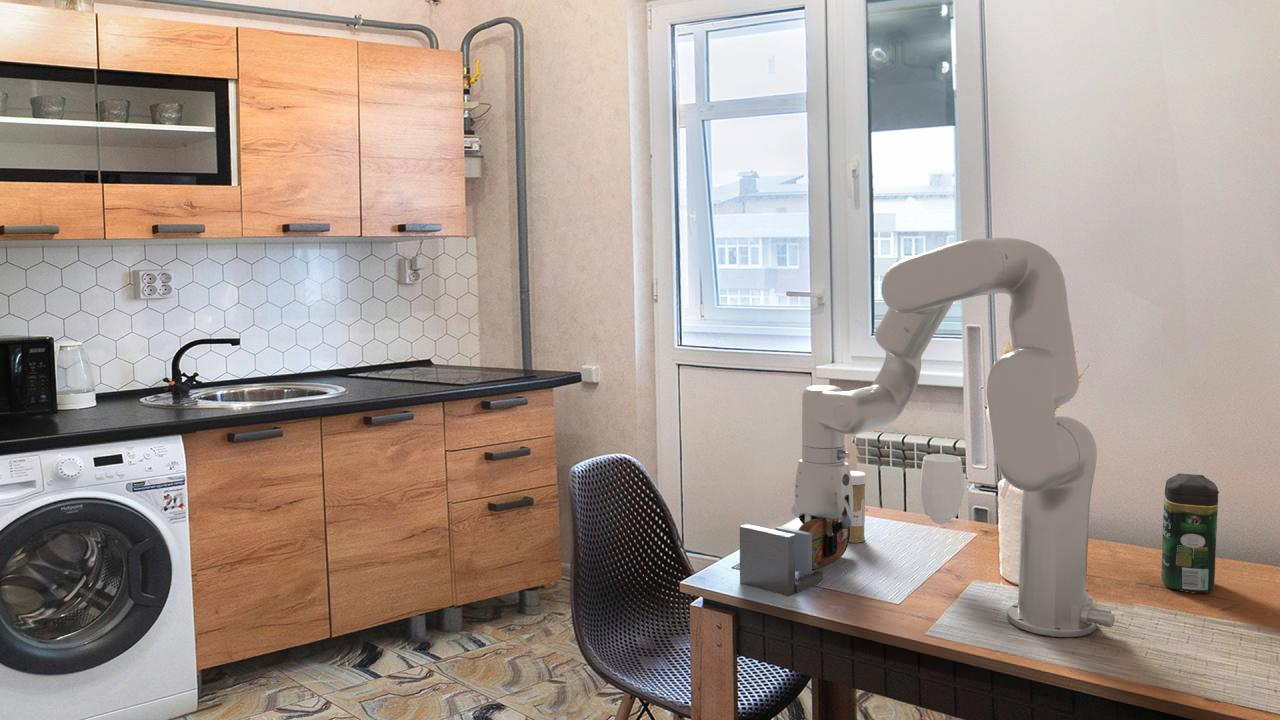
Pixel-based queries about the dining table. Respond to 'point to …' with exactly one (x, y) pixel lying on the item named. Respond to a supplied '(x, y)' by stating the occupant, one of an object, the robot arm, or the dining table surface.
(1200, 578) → the coffee jar
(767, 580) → the frame
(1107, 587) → the dining table surface
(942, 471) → the cup
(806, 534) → the gauge carriage
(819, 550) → the tin
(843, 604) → the dining table surface
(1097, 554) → the dining table surface
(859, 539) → the sprinkles bottle
